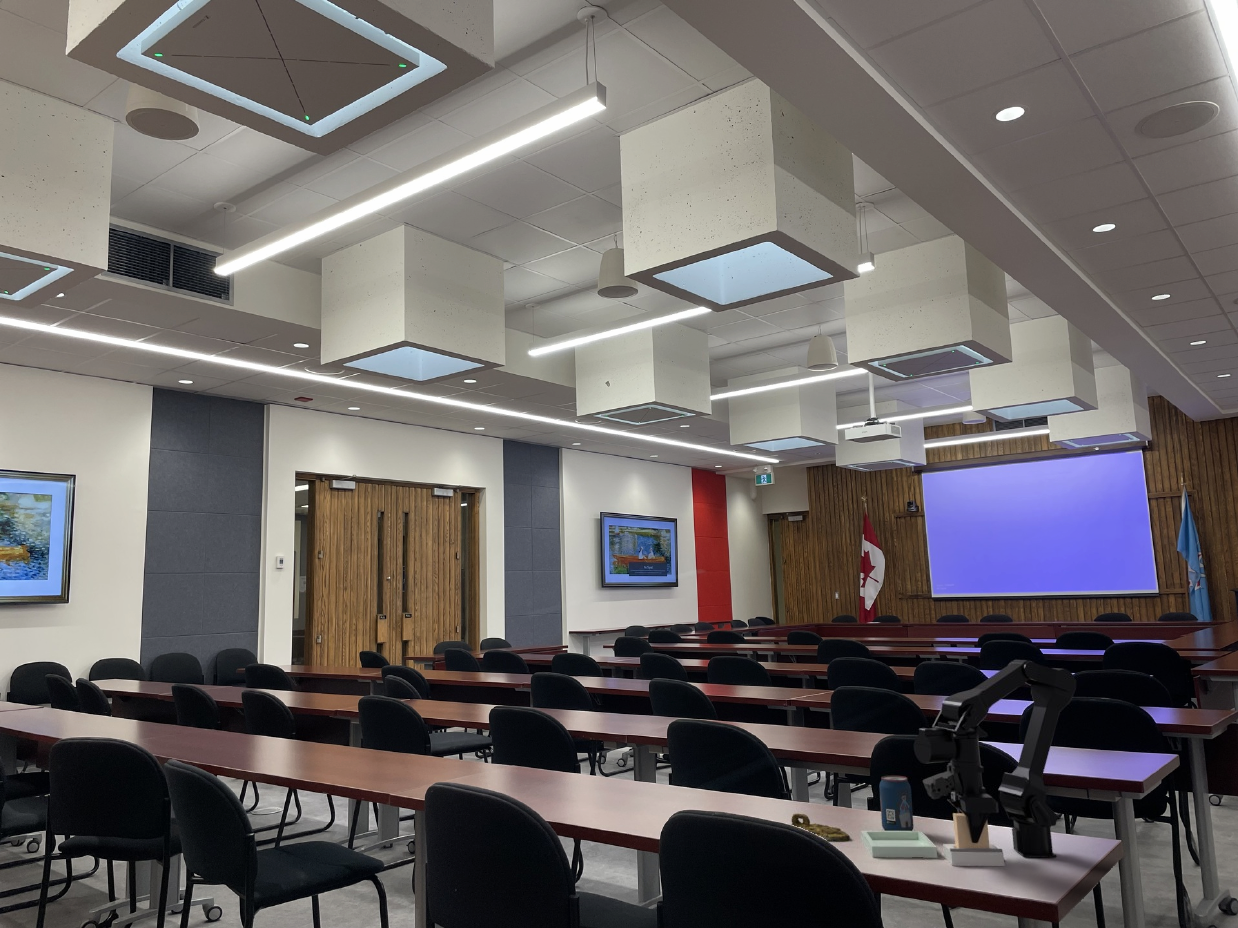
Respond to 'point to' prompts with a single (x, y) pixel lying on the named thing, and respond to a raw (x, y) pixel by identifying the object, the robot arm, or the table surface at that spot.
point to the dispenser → (973, 856)
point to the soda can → (896, 804)
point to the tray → (898, 844)
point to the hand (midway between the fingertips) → (971, 840)
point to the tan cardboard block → (968, 834)
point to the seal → (820, 829)
